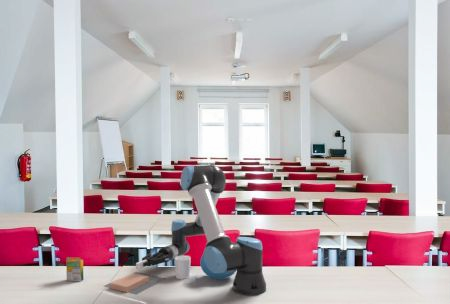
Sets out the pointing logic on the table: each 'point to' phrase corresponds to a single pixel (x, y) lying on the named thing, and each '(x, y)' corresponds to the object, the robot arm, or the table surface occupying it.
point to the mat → (152, 281)
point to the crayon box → (74, 269)
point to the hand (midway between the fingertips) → (137, 266)
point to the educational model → (215, 275)
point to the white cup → (182, 266)
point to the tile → (129, 282)
